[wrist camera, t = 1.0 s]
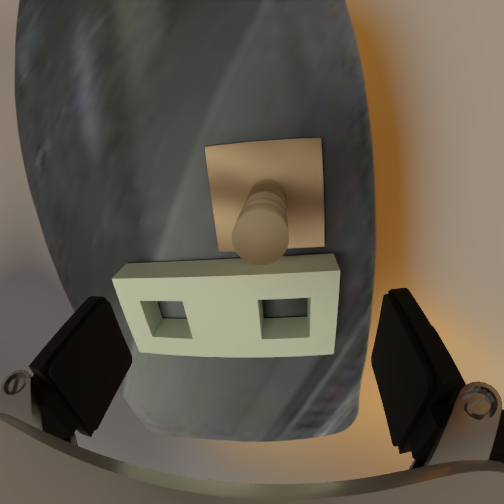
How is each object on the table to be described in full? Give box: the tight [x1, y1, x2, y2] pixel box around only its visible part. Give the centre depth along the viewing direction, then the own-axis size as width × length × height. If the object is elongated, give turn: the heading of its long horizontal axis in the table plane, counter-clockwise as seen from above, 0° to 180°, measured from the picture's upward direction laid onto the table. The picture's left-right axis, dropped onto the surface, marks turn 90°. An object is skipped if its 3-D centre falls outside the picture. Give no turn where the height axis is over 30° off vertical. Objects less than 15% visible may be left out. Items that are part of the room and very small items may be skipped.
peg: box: [231, 179, 289, 265], centre depth 21 cm, size 3×3×10 cm
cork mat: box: [205, 138, 324, 252], centre depth 25 cm, size 10×10×1 cm
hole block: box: [112, 254, 340, 357], centre depth 29 cm, size 10×22×4 cm, turn 96°
